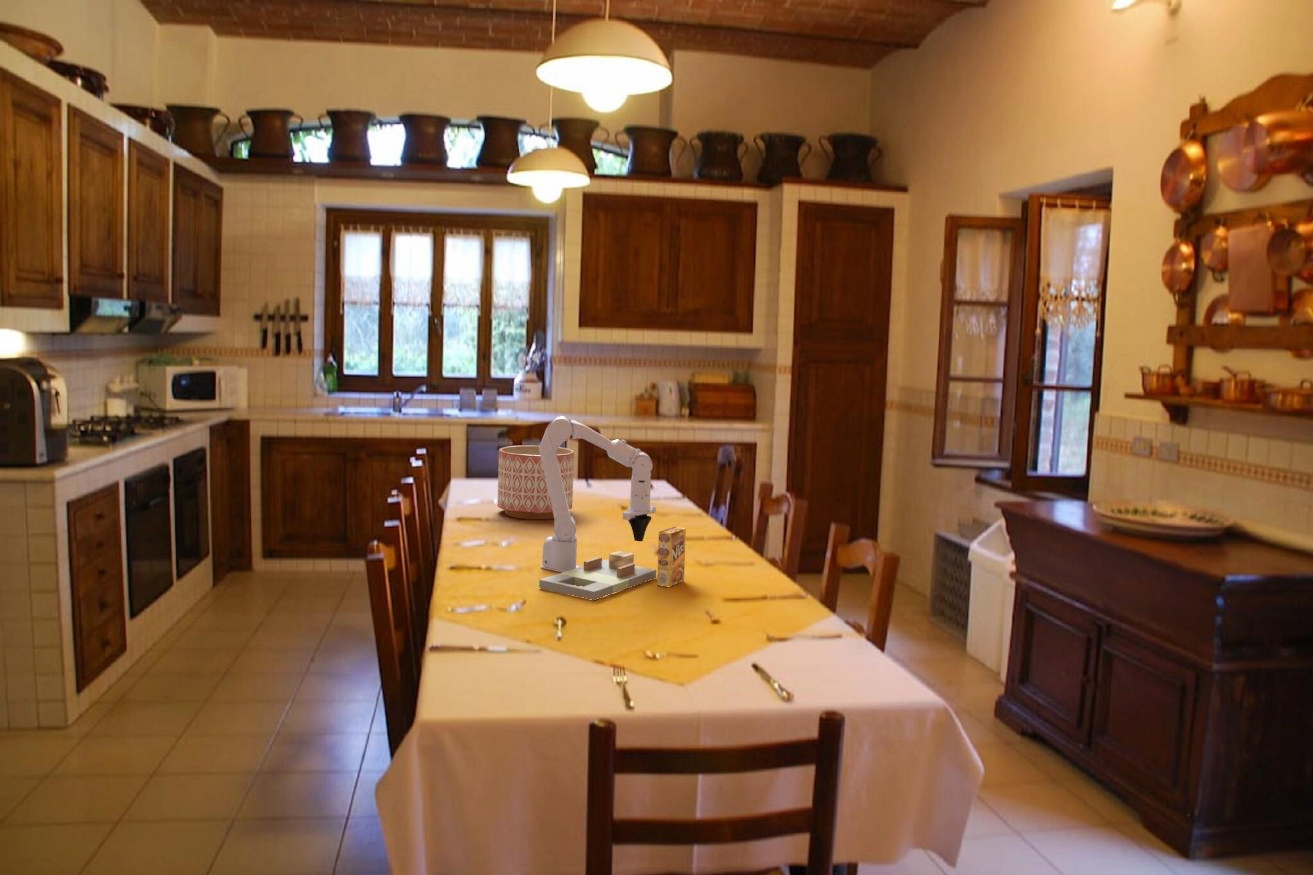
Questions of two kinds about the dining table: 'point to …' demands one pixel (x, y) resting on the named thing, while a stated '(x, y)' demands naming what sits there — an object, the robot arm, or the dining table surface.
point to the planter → (530, 481)
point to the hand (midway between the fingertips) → (638, 540)
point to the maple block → (620, 559)
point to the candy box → (671, 556)
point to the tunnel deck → (596, 579)
